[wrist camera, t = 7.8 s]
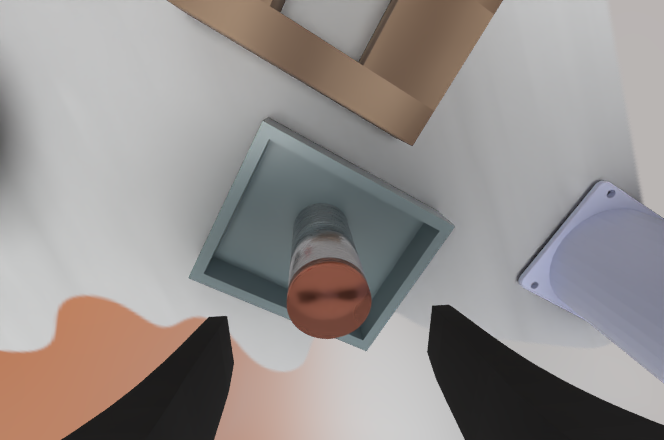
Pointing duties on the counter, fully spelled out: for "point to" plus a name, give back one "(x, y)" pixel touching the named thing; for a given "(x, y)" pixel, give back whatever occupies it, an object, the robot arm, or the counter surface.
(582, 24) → the counter surface
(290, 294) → the spice jar
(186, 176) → the counter surface
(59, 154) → the counter surface
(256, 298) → the tray
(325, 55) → the block
